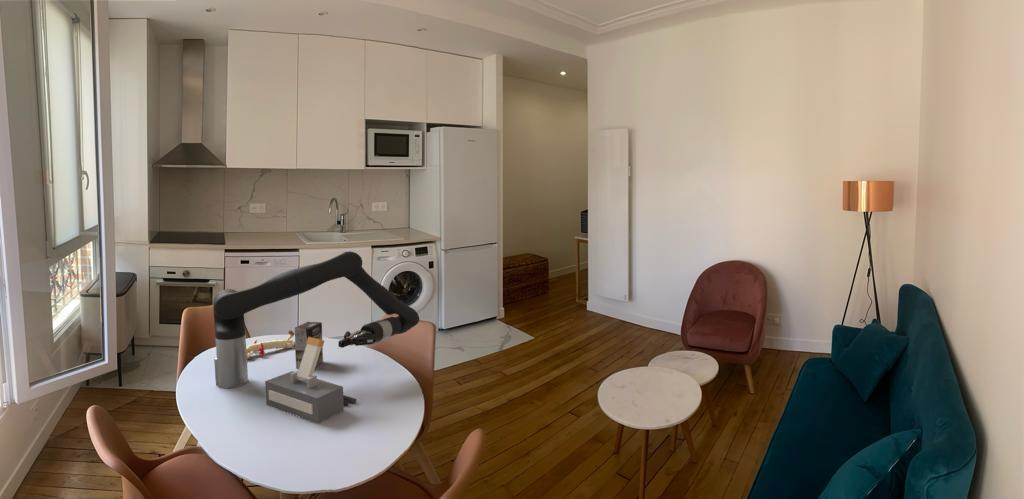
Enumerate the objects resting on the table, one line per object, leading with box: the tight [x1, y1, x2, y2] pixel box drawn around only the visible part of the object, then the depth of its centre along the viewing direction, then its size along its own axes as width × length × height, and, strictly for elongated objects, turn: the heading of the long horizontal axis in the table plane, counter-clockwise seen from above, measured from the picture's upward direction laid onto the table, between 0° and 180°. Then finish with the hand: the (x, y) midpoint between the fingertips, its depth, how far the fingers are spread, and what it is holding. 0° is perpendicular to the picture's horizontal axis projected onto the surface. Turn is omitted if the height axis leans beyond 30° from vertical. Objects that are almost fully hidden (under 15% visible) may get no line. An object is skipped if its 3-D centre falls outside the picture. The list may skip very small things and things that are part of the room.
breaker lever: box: [295, 337, 325, 383], centre depth 165 cm, size 2×6×14 cm, turn 62°
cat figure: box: [246, 329, 295, 360], centre depth 213 cm, size 10×9×25 cm
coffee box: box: [294, 321, 324, 369], centre depth 201 cm, size 9×6×16 cm
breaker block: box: [264, 370, 357, 424], centre depth 167 cm, size 17×24×11 cm
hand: (340, 344), depth 176 cm, fingers closed
